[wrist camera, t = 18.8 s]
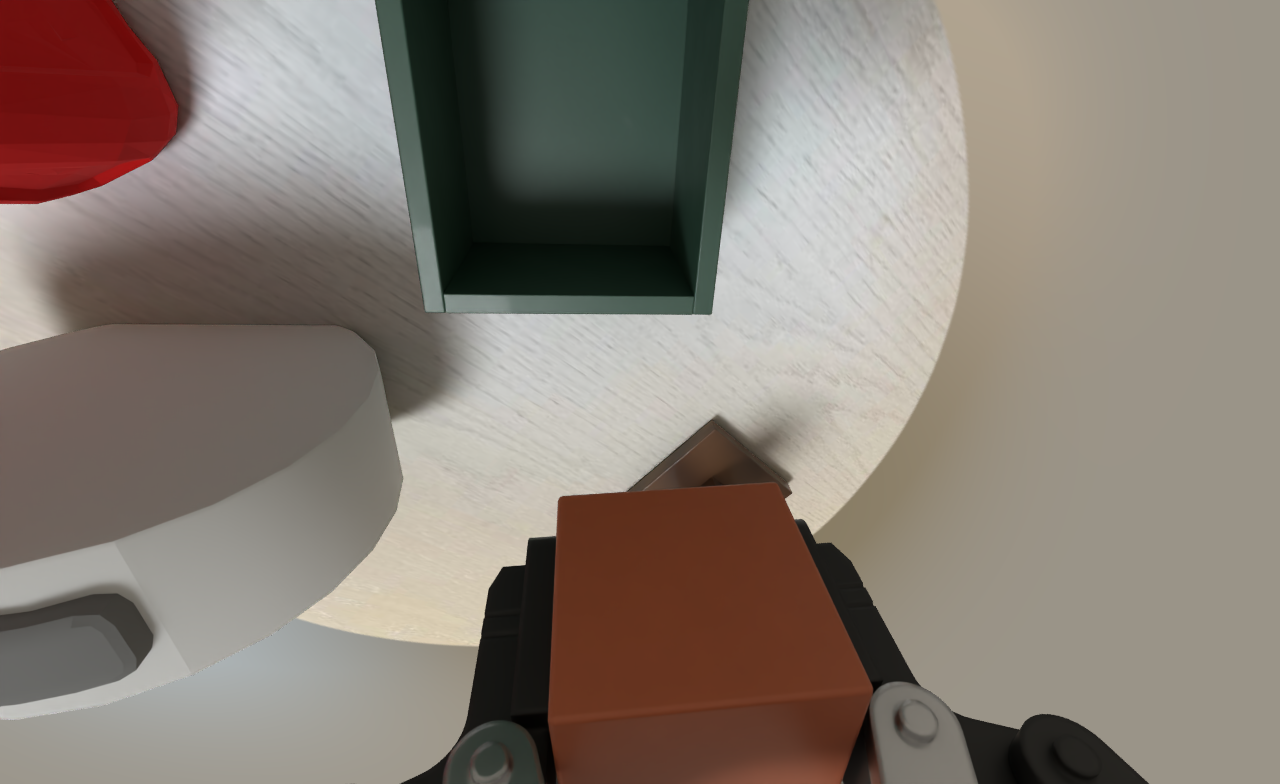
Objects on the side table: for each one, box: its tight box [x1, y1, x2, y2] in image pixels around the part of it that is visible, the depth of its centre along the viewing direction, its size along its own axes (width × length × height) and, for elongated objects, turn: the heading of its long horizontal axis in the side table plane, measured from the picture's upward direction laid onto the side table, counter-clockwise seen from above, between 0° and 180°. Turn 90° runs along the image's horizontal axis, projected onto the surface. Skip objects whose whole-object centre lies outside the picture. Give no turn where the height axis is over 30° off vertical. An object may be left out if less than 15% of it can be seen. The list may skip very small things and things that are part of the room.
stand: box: [628, 420, 792, 499], centre depth 37 cm, size 9×9×14 cm
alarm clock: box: [0, 324, 403, 720], centre depth 26 cm, size 21×8×20 cm, turn 87°
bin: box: [375, 0, 749, 315], centre depth 25 cm, size 17×13×9 cm
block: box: [548, 482, 873, 784], centre depth 10 cm, size 4×4×4 cm
